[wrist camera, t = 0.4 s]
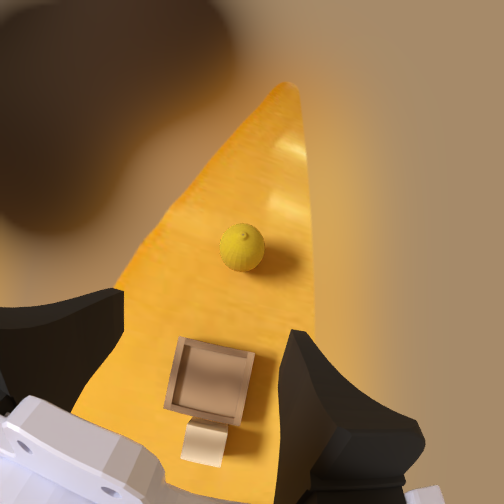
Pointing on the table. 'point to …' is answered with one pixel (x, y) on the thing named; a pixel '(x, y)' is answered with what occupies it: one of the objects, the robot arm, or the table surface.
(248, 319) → the table surface
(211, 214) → the table surface
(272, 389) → the table surface
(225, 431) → the block
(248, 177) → the table surface
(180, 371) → the tray
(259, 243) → the lemon
